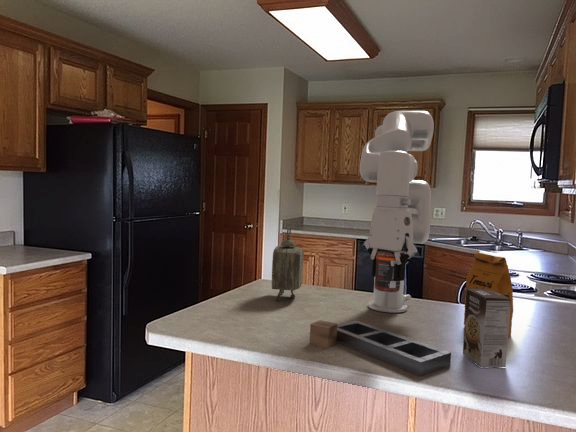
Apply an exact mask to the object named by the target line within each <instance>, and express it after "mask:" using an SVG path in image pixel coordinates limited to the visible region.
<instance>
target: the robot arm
mask: <svg viewBox="0 0 576 432" xmlns="http://www.w3.org/2000/svg"><path fill="white" fill-rule="evenodd" d="M434 123H435V121H434V119H433V117H432V114H431V113H430V112H429V111H426V110H395V111H391V112H389V113H388V114H387V115H386V116H385V117H384V118H383V121H382V125H379V126H378V127H377V128H376V129H375V133H374V137H373V138H372V139H370V140H368V141H367V142H366V143H365V145H364V147H363V149H362V152H361V156H360V157H361V158H360V161H359V174H360V176H361V178H362V180H364V182H368V183H376V191H375V208H373V210H372V211H373V212H372V215H371V220H370V229H369V236H368V237H367V239H366V240H365V241H364V242H363V245H364V246H365V248H366V249H367V252H368V254H369V255H370V260H372V267H371V269H372V270H371V271H372V272H371V275H372V277H374V278H373V281H374V283H373V295H372V296H373V297H372V298H373V299H372V300H370V301H369V302H368V303H367V304H368V308H370V310H374V311H377V312H384V313H392V314H393V313H394V314H395V313H398V314H399V313H405V312H406V311H407V310H408V305H407V304H405V302H406V301H411V299H412V296H411V295H410V294H406V293H405V294H404V285H405V284H404V283H405V275H406V265H407V264H408V263H409V261H410V260H411V259H413V257H414V256H415V255H417V253H418V249H417V246H415V244H424V243H426V242H427V241H428V240H429V237H430V234H431V233H430V230H431V211H432V209H431V207H432V190H431V186H430V184H429V183H428V182H427V181H425V180H420V179H417V180H416V179H415V178H416V177H417V174H418V167H419V166H418V165H419V164H418V161H417V160H416V159H415V156H414V155H412V154H410V153H408V152H424V151H425V152H426V151H427V150H428V149H429V148H430V146H431V143H432V140H433V135H434V129H435V128H434V127H435V125H434ZM411 210H414V211H415V213H413V212H412V211H411ZM382 249H384V250H387V251H391V252H394V255H395V259H396V263H397V264H395V265H394V278H393V280H394V281H400V289H399V291H397V292H384V291H379V290H377V289H375V271H376V255H377V253H378V252H379V251H381V250H382ZM400 254H401V256H400Z"/></svg>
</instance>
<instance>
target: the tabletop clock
mask: <svg viewBox="0 0 576 432" xmlns="http://www.w3.org/2000/svg"><path fill="white" fill-rule="evenodd" d="M286 229H287V230H286V239H284V240H282V241H281V244H280V245H277V246H275V247H274V249H273V252H272V263H271V266H272V267H271V289H272V290H279V291H278V293H277V295H275V297H274V301H276V302H279V301H280V296H281V295H283V294H285V291H290V293H291V294H290V298H291V299H292V300H293V299H295V298H296V294H294V292H295V291H296V290H298V289H301V287H302V284H303V279H304V255H305V253H304V252H305V249H303V248H300V247H298V246H297V245H296V243H295V241H294V240H292V239H291V234H292V233H291V232H292V229H291V225H290V226H288V227H287V228H286Z"/></svg>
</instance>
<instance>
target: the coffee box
mask: <svg viewBox="0 0 576 432" xmlns="http://www.w3.org/2000/svg"><path fill="white" fill-rule="evenodd" d="M466 290H467V293H466V309H465V308H464V312H465V325H464V329H463V342H462V343H463V344H462V355H464V356H465V357H466V358H467V357H468V358H467V359H469V360H470V361H471V360H472V361H473V364H475V363H476V364H477V365H478V366H477V365H476V364H475V365H476V366H477V367H479V366H480V367H506V368H507V357H508V356H507V355H508V354H507V353H508V344H509V343H508V342H509V337H508V332H509V320H510V308H511V298H508V297H506V296H504V295H502V294H499V293H497V292H495V291H493V290H484V289H466V288H465V291H466ZM472 361H471V362H472ZM480 367H479V368H480Z"/></svg>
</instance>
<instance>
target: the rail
mask: <svg viewBox="0 0 576 432" xmlns="http://www.w3.org/2000/svg"><path fill="white" fill-rule="evenodd" d="M337 324H338V325H337V343H338V344H341V345H343V346H346V347H348V348H351V349H353V350H355V351H357V352H360V353H362V354H365V355H368V356H370V357H372V358H375V359H378V360H379V361H382V362H384V363H386V364H390V365H391V366H394V367H396V368H398V369H402V370H404V371H406V372H409V373H410V374H411V373H412V374H414V375H416V376H419V377H422V376H425V375H428V374H430V373H433V372H436V371H438V370H442V369H444V368H448V367H450V366H451V359H452V352H450V351H447V350H445V349H442V348H439V347H436V346H433V345H431V344H427V343H425V342H421V341H418V340H415V339H412V338H409V337H407V336H404V335H401V334H397V333H394V332H392V331H388V330H387V329H382V328H380V327H377V326H374V325H372V324H368V323H366V322H363V321H359V320H353V321H349V322H348V321H347V322H344V323H337Z"/></svg>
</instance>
